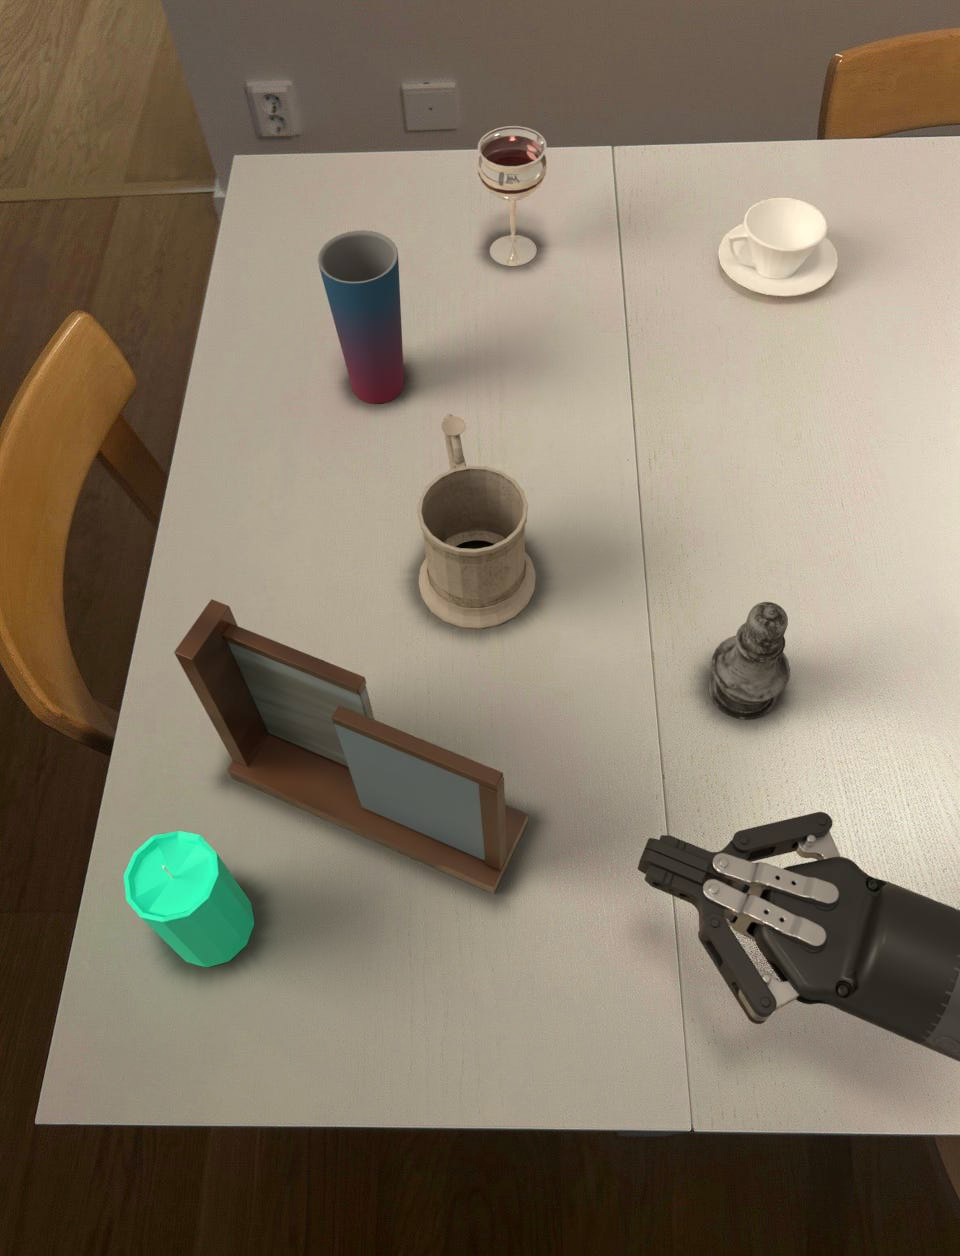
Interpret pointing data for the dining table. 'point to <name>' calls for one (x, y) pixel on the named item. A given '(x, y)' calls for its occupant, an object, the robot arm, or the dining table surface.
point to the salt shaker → (751, 664)
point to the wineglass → (512, 182)
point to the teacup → (780, 249)
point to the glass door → (425, 786)
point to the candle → (189, 898)
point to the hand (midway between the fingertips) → (643, 853)
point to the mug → (466, 511)
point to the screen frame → (303, 735)
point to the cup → (366, 311)
